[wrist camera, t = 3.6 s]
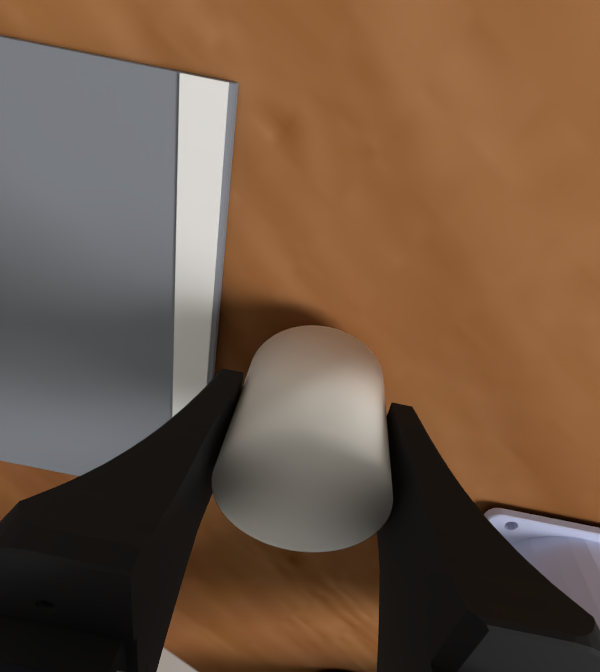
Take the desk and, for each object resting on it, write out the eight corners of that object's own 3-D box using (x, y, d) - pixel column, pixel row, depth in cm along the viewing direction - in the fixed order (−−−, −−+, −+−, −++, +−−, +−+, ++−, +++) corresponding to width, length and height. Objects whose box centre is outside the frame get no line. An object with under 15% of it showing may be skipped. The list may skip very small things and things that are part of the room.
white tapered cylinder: (400, 341, 14) (417, 451, 10) (365, 444, 16) (367, 565, 12) (257, 312, 14) (218, 411, 10) (242, 419, 16) (206, 533, 12)
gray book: (238, 83, 11) (234, 83, 11) (204, 493, 20) (201, 502, 20) (-131, 9, 11) (-150, 7, 11) (-8, 450, 20) (-16, 459, 20)
